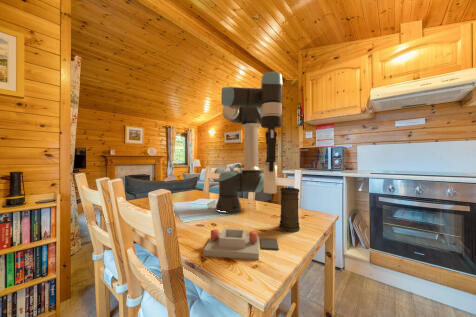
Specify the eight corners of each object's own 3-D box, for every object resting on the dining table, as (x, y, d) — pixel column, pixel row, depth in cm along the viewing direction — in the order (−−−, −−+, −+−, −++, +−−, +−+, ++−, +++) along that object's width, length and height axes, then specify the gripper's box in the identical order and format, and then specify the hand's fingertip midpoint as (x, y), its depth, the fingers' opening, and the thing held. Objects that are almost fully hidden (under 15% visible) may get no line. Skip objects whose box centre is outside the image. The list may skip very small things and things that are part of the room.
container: (300, 232, 81) (301, 191, 81) (279, 231, 83) (280, 190, 83) (298, 225, 90) (299, 187, 90) (279, 223, 92) (279, 186, 91)
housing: (213, 237, 76) (213, 224, 76) (258, 239, 74) (258, 227, 74) (203, 255, 62) (203, 240, 62) (258, 259, 60) (258, 244, 60)
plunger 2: (249, 238, 69) (249, 231, 69) (257, 239, 69) (257, 231, 69) (248, 242, 66) (249, 234, 66) (257, 242, 66) (257, 234, 66)
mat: (261, 238, 75) (261, 237, 75) (276, 239, 74) (276, 238, 74) (261, 248, 67) (261, 247, 67) (278, 250, 66) (278, 248, 66)
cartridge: (263, 190, 73) (263, 162, 73) (276, 191, 72) (276, 163, 72) (263, 193, 68) (263, 163, 68) (277, 193, 68) (278, 163, 67)
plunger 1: (211, 236, 70) (211, 229, 70) (219, 237, 70) (219, 229, 70) (209, 240, 68) (209, 232, 68) (217, 240, 67) (217, 232, 67)
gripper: (260, 121, 79) (259, 176, 80) (261, 111, 61) (260, 183, 62) (278, 120, 78) (278, 177, 79) (285, 111, 60) (283, 183, 61)
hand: (270, 179), depth 70 cm, fingers closed on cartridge, 5 cm apart
